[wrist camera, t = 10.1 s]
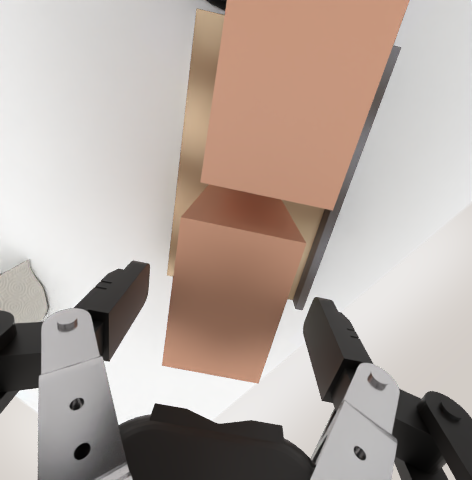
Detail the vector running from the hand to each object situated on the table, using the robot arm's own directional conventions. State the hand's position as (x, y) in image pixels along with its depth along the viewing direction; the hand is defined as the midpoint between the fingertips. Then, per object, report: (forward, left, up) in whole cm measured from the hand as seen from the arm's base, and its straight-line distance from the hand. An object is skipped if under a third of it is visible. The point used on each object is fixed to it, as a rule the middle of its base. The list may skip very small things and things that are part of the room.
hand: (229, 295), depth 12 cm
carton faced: (-9, +1, -8) cm, 12 cm away
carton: (0, 0, -8) cm, 8 cm away
